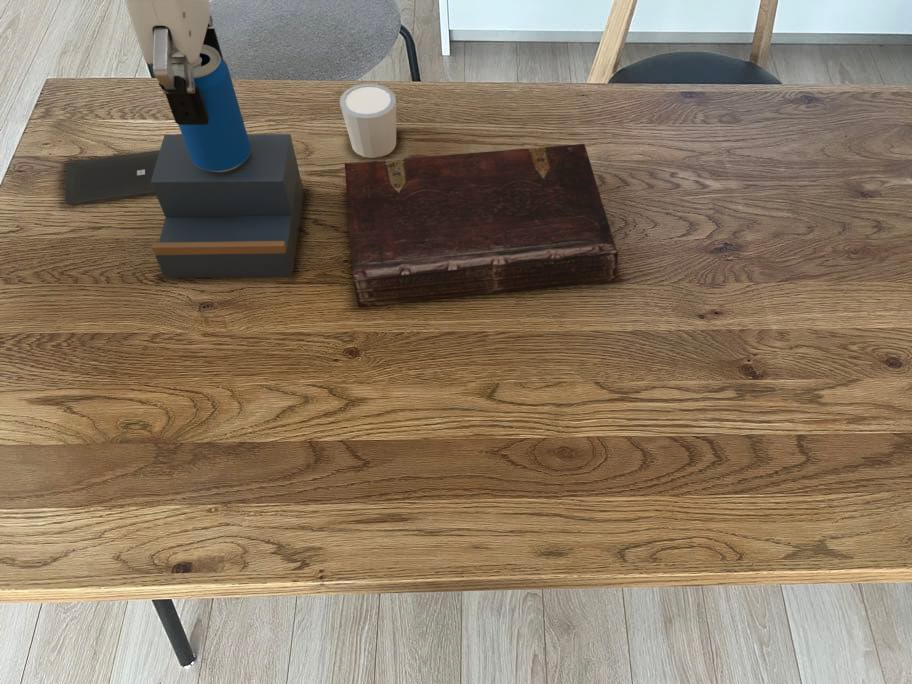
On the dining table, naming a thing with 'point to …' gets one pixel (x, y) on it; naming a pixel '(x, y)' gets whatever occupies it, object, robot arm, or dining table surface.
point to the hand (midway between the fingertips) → (201, 92)
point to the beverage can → (215, 116)
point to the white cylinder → (370, 119)
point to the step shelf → (229, 211)
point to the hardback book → (476, 224)
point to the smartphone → (110, 178)
